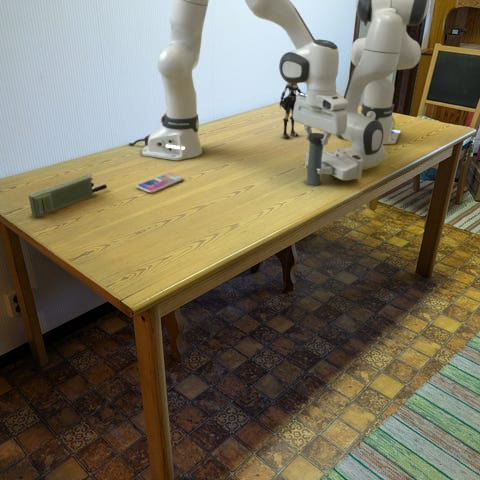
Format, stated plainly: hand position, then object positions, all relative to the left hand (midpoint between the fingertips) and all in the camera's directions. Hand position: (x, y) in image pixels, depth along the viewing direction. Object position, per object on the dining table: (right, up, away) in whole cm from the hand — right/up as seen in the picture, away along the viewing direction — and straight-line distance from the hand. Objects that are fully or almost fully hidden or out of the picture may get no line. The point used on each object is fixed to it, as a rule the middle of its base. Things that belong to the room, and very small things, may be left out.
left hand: (316, 141), depth 160 cm
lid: (0, +2, -1) cm, 2 cm away
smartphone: (-50, -13, +4) cm, 52 cm away
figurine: (-4, +12, +49) cm, 51 cm away
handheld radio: (-74, -20, -9) cm, 78 cm away
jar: (0, -12, +7) cm, 14 cm away
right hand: (-1, -8, +4) cm, 9 cm away
